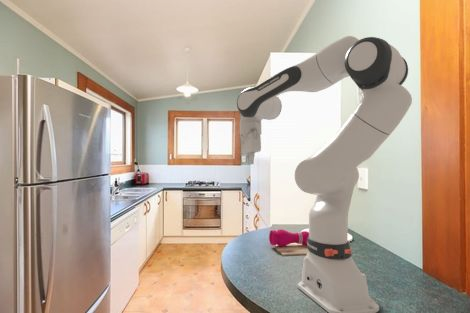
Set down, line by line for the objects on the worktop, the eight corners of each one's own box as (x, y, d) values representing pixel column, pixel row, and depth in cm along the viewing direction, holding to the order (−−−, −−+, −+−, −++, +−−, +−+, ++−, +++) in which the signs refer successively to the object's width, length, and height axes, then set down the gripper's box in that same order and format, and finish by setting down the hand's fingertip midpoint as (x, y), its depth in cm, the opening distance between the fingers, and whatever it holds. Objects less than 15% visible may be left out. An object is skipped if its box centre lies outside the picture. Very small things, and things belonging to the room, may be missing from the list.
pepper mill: (275, 239, 106) (319, 240, 110) (271, 225, 112) (313, 226, 116) (271, 249, 110) (313, 250, 114) (267, 235, 116) (308, 236, 120)
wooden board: (328, 253, 105) (328, 252, 105) (282, 255, 102) (282, 254, 102) (311, 241, 121) (311, 240, 121) (270, 243, 118) (270, 241, 118)
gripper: (264, 126, 94) (265, 164, 93) (252, 133, 114) (252, 164, 113) (248, 126, 93) (248, 164, 92) (238, 133, 113) (238, 164, 112)
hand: (250, 164), depth 103 cm, fingers closed
